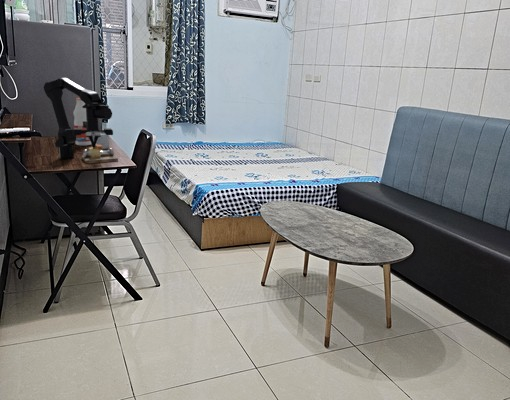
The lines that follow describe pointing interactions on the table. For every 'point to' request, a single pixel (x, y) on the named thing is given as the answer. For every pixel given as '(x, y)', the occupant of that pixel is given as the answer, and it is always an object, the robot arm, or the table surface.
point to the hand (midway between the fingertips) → (93, 148)
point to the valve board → (100, 159)
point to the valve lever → (98, 147)
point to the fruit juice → (80, 122)
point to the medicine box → (103, 141)
